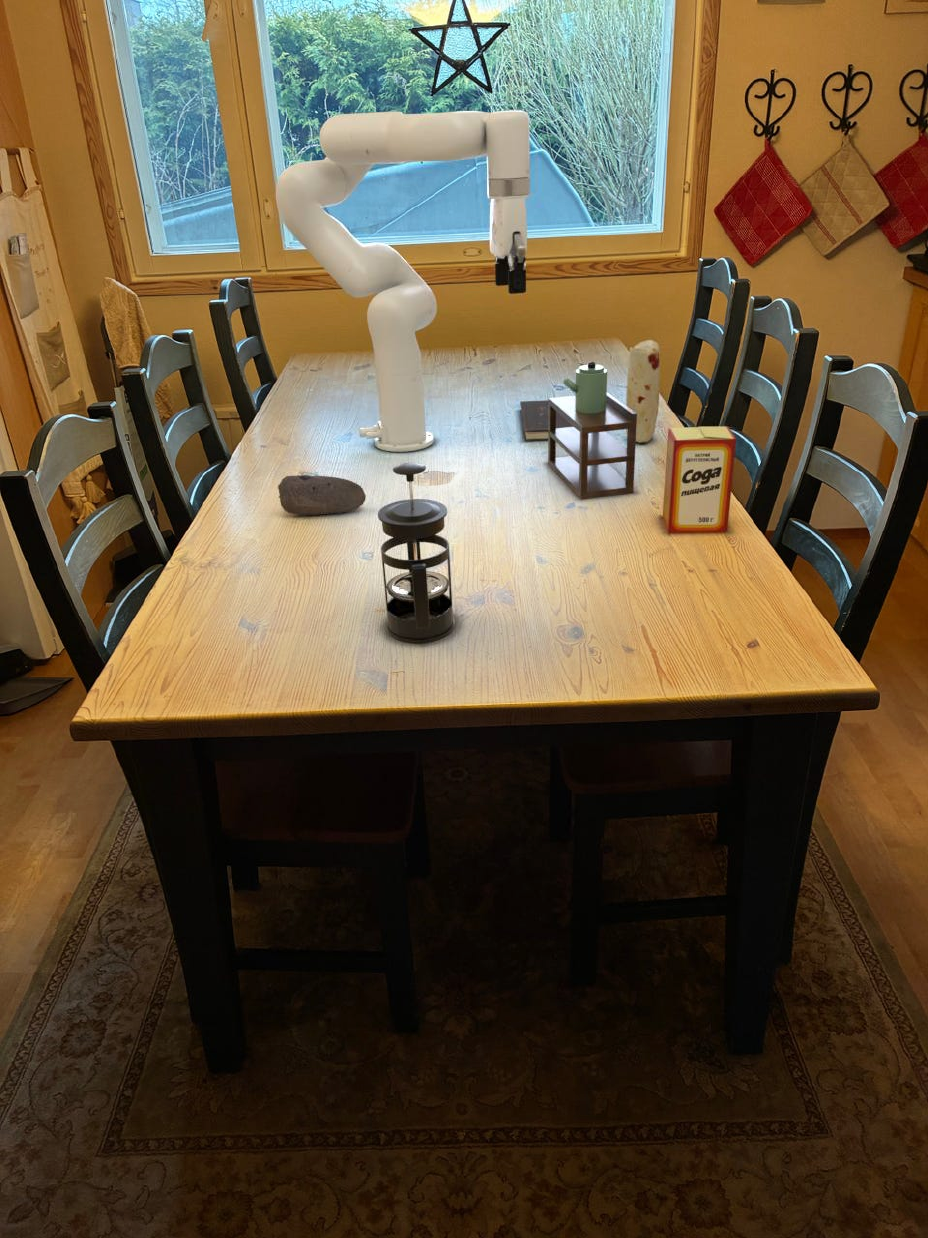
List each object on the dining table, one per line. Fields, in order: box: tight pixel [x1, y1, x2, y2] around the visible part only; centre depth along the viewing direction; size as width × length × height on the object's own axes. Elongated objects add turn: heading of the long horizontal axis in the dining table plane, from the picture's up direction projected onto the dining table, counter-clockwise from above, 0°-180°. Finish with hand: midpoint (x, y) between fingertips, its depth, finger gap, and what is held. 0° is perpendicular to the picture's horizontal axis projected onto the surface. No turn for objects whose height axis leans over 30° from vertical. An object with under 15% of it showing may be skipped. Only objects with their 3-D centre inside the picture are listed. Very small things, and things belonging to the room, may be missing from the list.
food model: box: [625, 339, 661, 444], centre depth 192 cm, size 10×7×20 cm
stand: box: [547, 392, 637, 500], centre depth 174 cm, size 10×20×15 cm, turn 12°
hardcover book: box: [519, 399, 574, 442], centre depth 208 cm, size 16×23×2 cm
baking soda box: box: [662, 425, 737, 534], centre depth 152 cm, size 10×6×16 cm
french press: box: [377, 462, 456, 644], centre depth 123 cm, size 12×9×23 cm
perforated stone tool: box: [277, 474, 367, 516], centre depth 166 cm, size 15×5×7 cm, turn 89°
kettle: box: [562, 361, 608, 414], centre depth 169 cm, size 8×6×9 cm
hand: (510, 288), depth 176 cm, fingers open, 9 cm apart
